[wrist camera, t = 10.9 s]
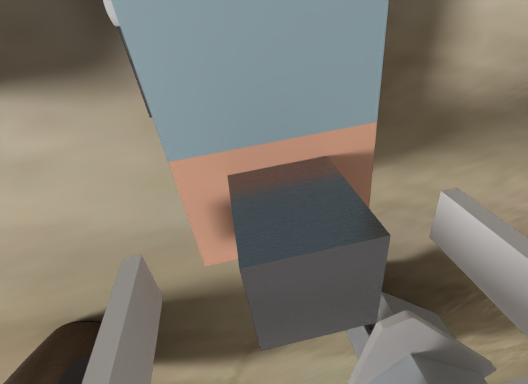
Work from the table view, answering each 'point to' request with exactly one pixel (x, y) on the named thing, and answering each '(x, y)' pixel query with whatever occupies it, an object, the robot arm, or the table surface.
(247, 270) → the block
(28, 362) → the plant pot
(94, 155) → the table surface
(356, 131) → the balance beam
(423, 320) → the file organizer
